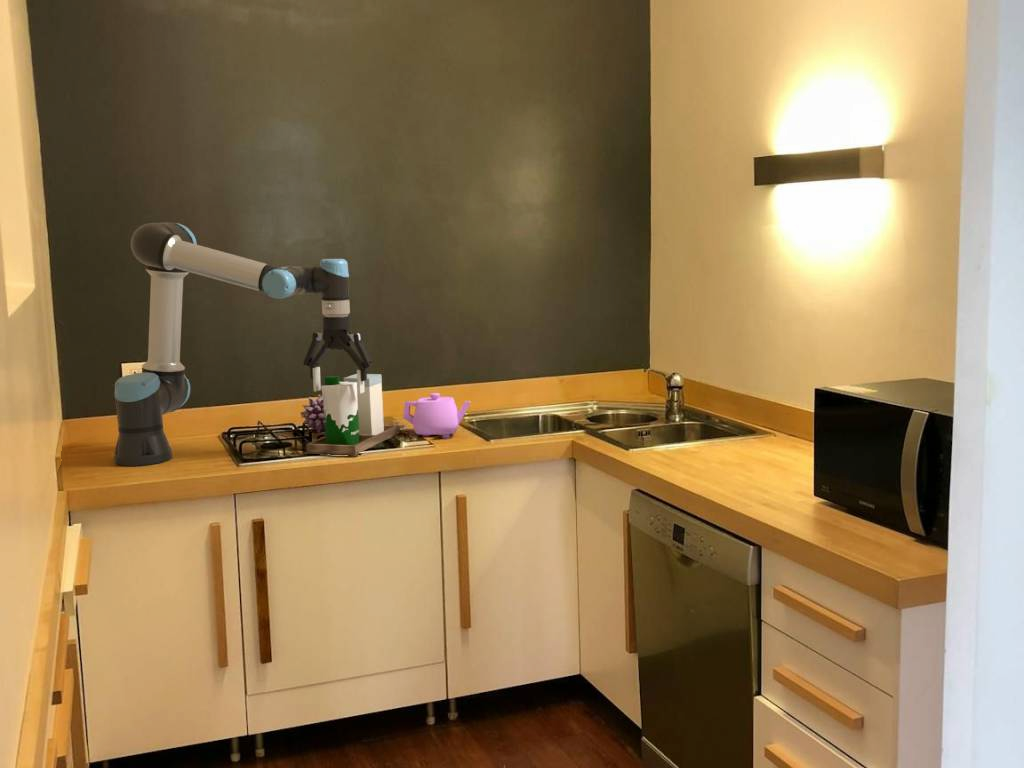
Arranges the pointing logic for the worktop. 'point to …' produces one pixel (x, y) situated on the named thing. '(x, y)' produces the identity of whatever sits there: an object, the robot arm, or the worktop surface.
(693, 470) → the worktop surface
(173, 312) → the robot arm
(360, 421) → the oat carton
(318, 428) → the purple spiky ball
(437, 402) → the teapot
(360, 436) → the tray
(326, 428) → the soya milk
